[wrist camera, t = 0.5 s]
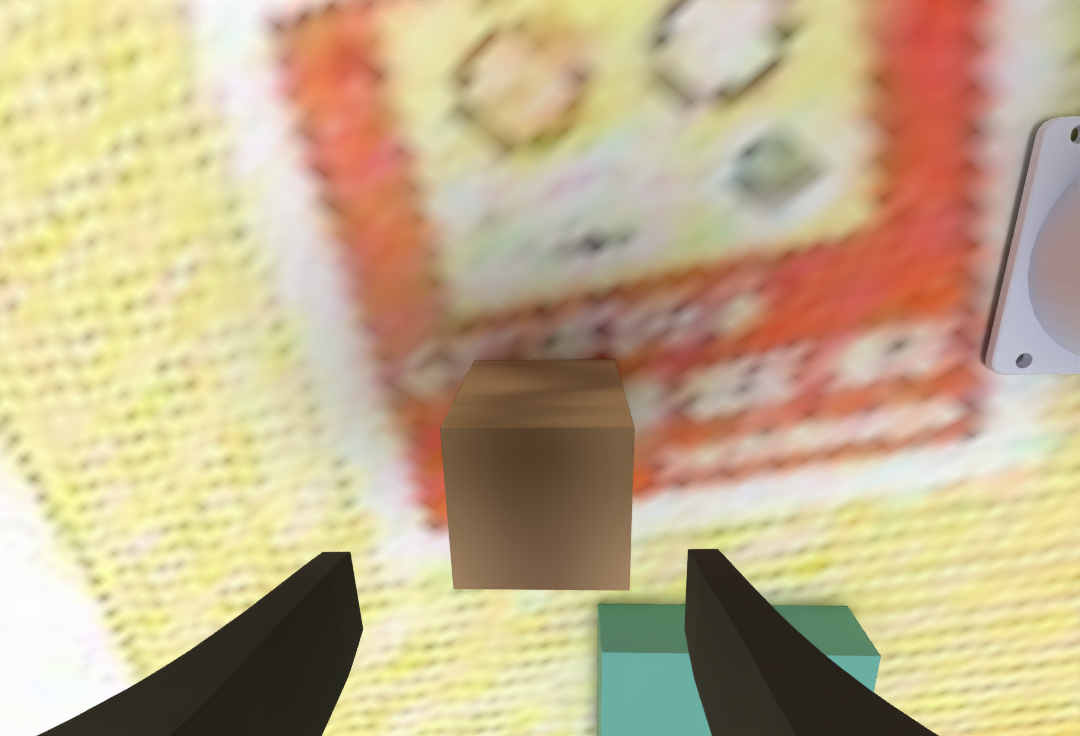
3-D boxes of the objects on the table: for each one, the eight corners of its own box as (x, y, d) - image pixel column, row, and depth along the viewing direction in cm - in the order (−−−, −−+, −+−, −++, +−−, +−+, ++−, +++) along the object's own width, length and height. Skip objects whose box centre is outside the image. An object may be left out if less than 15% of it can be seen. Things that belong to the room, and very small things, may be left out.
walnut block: (614, 358, 20) (634, 427, 15) (612, 484, 22) (629, 590, 16) (474, 360, 21) (440, 428, 15) (482, 484, 22) (453, 589, 16)
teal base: (842, 598, 24) (880, 656, 21) (812, 777, 27) (842, 848, 24) (597, 596, 24) (601, 652, 21) (595, 772, 27) (599, 841, 24)
